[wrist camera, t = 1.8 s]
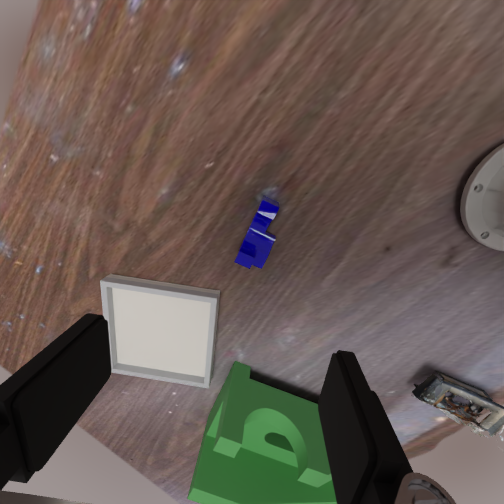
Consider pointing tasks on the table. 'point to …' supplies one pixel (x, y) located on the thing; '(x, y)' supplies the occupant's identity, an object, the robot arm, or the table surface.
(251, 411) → the green cradle stand
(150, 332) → the tray
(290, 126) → the table surface
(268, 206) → the cable holder
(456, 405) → the silver rectangular box
